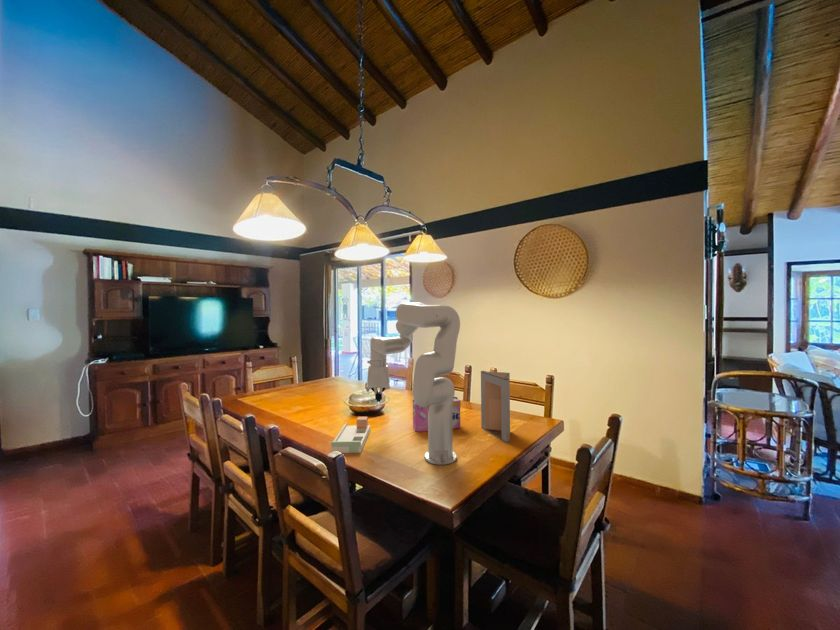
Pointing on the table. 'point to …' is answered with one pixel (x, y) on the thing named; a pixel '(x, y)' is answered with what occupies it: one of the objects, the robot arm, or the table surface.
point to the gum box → (422, 416)
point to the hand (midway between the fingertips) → (378, 401)
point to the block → (362, 422)
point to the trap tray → (350, 439)
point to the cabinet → (496, 404)
